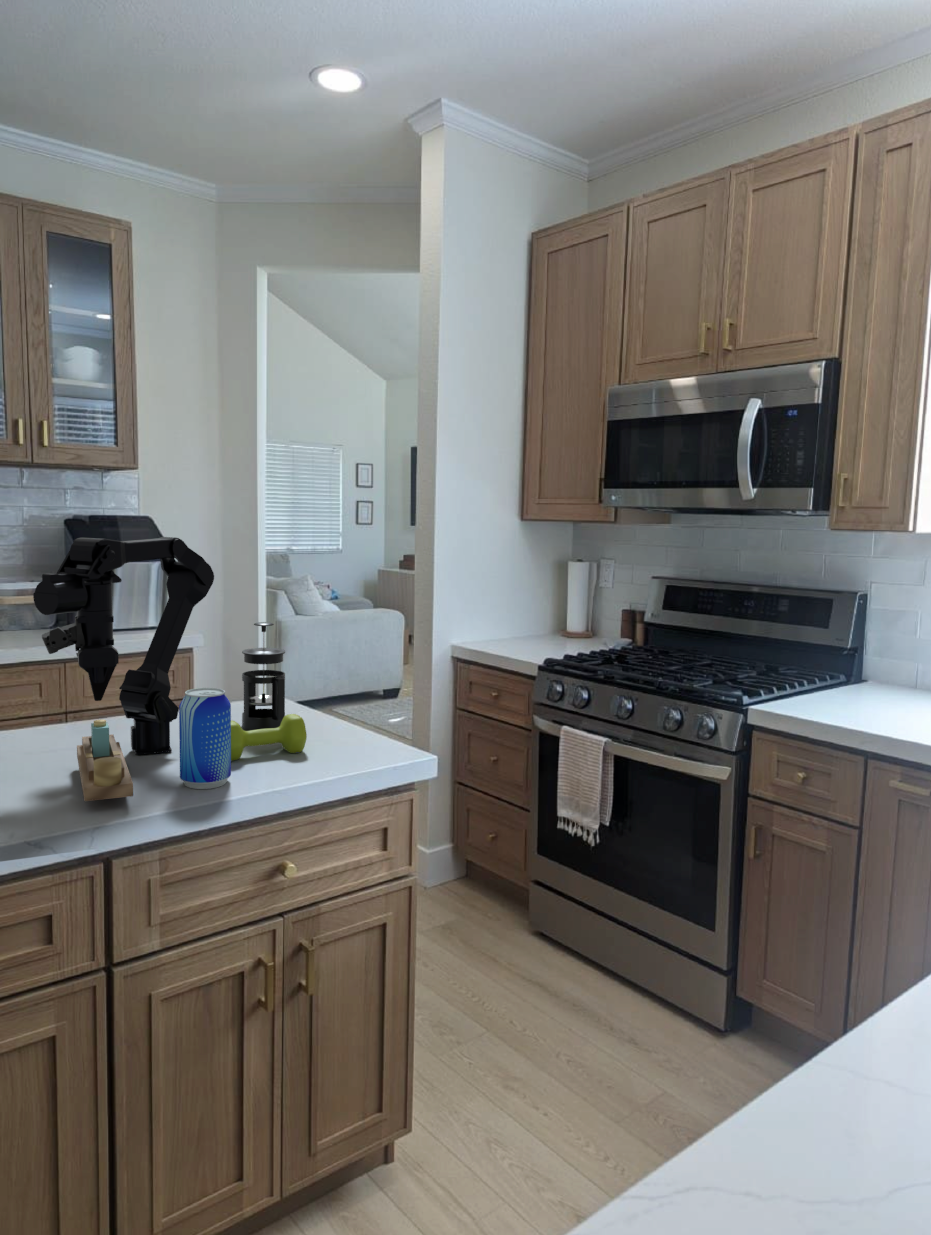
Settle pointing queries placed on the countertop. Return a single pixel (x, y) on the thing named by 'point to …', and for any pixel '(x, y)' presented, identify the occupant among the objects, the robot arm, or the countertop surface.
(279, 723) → the french press
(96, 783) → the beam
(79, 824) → the countertop surface
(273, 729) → the dumbbell
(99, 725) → the block
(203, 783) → the beer can
